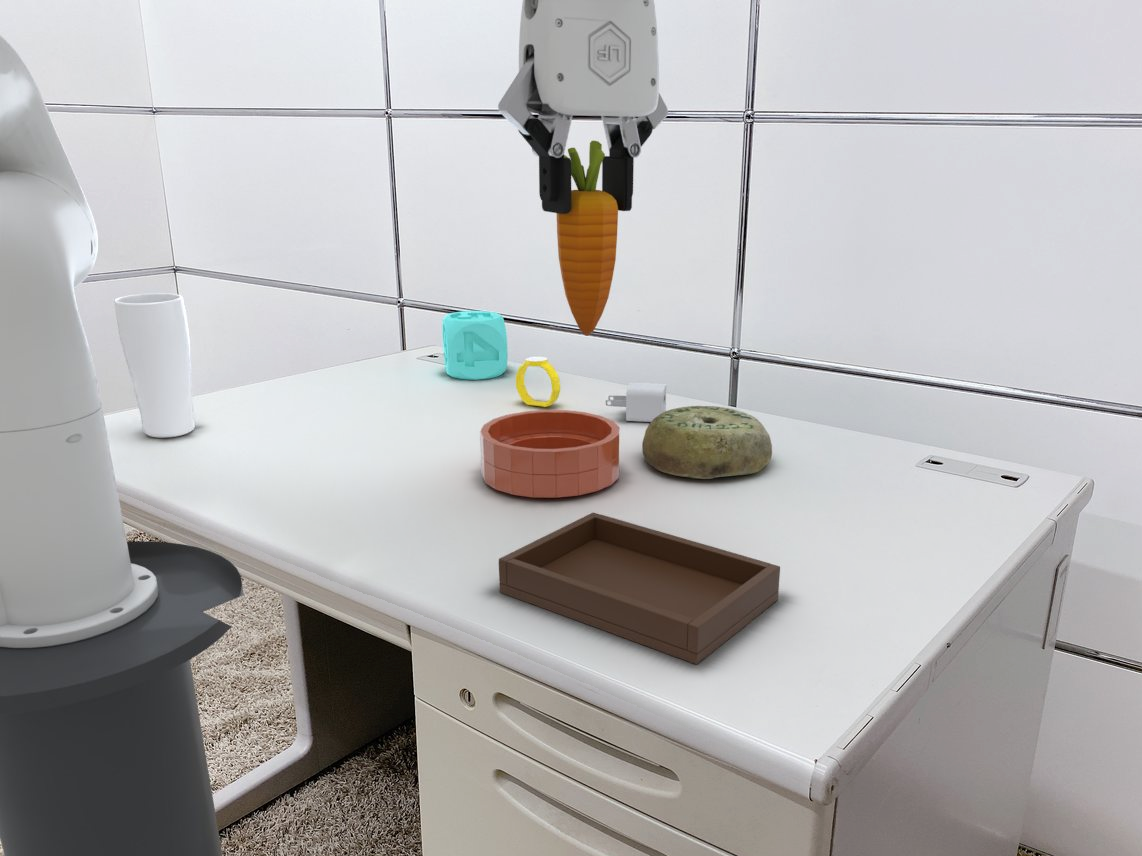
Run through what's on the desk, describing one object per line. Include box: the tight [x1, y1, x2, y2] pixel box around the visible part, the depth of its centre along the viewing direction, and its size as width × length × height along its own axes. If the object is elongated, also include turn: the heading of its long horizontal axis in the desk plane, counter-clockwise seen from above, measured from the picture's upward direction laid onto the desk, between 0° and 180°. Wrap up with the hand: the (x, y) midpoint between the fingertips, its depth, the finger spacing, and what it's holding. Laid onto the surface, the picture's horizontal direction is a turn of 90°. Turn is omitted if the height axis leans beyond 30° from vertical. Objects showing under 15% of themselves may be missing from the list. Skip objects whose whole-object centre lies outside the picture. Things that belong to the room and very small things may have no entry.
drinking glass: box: [113, 292, 196, 439], centre depth 107 cm, size 7×7×15 cm
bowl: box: [479, 409, 621, 499], centre depth 97 cm, size 14×14×5 cm
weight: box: [641, 405, 773, 480], centre depth 102 cm, size 14×13×5 cm
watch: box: [515, 356, 562, 408], centre depth 121 cm, size 6×3×6 cm, turn 58°
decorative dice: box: [441, 310, 509, 381], centre depth 135 cm, size 8×8×8 cm
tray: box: [498, 512, 781, 665], centre depth 73 cm, size 18×12×3 cm, turn 55°
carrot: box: [556, 140, 619, 337], centre depth 77 cm, size 5×5×15 cm
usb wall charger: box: [605, 382, 667, 423], centre depth 117 cm, size 4×7×4 cm, turn 83°
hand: (587, 208), depth 76 cm, fingers closed on carrot, 5 cm apart
